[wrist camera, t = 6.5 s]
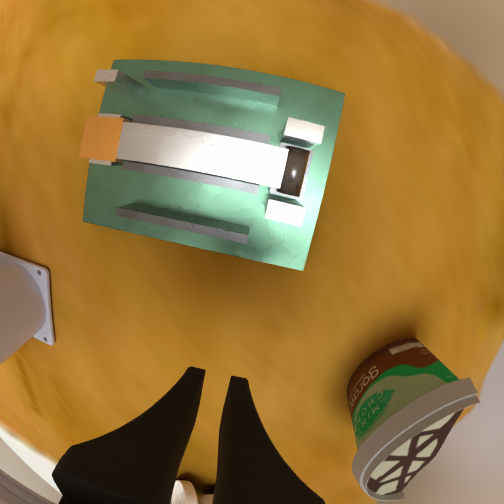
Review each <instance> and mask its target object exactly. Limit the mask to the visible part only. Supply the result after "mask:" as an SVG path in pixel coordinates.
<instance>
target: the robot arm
mask: <svg viewBox="0 0 504 504" xmlns="http://www.w3.org/2000/svg"><path fill="white" fill-rule="evenodd" d="M40 272H41V273H40ZM32 337H34V338H36V339H38V340H40V341H43V342H45V343H47V344H49V345H53V344H54V343H55V339H54V331H53V322H52V312H51V299H50V281H49V271H48V270H47V268H45V267H42V266H39V265H36V264H34V263H31V262H28V261H25V260H23V259H20V258H17V257H14V256H12V255H9V254H7V253H4V252H1V251H0V365H1V364H2V363H3V362H4V361H5V360H6V359H7V358H9V357H10V356H11V355H12V354H13V353H14V352H15V351H17V350H18V349H19V348H20V347H21V346H22V345H23V344H25V343H26V342H27V341H28V340H29V339H30V338H32ZM205 371H206V370H204V369H200V368H196V367H189V368H188V369H187V370H186V372H185V373H184V374H183V376H182V377H181V378H180V379H179V381H178V382H177V383H176V384H175V385H174V386H173V387H172V388H171V389H170V390H169V391H168V392H167V393H166V394H165V395H164V396H163V397H162V398H161V399H160V400H159V401H157V402H156V403H155V404H154V405H153V406H152V407H150V408H149V409H148V410H147V411H145V412H144V413H142V414H141V415H140V416H138V417H137V418H135V419H134V420H132V421H130V422H129V423H127V424H125V425H123V426H122V427H120V428H118V429H116V430H114V431H112V432H109V433H107V434H105V435H103V436H100V437H98V438H95V439H92V440H89V441H86V442H83V443H80V444H76V445H73V446H71V447H70V448H69V449H68V450H67V451H66V453H65V454H64V455H63V456H62V457H61V459H60V460H59V462H58V464H57V465H56V467H55V469H54V471H53V473H52V477H53V479H54V482H55V483H56V485H57V487H58V488H59V490H60V492H61V493H62V495H63V496H62V498H61V500H60V502H59V504H170V502H171V498H172V493H173V489H174V485H175V481H176V477H177V472H178V469H179V466H180V463H181V460H182V457H183V455H184V452H185V449H186V447H187V444H188V441H189V438H190V436H191V433H192V430H193V427H194V425H195V421H196V417H197V413H198V409H199V404H200V399H201V393H202V387H203V382H204V376H205ZM0 504H55V503H53V502H51V501H49V500H47V499H46V498H44V497H42V496H40V495H39V494H37V493H35V492H34V491H32V490H30V489H28V488H27V487H25V486H24V485H22V484H21V483H19V482H18V481H16V480H15V479H13V478H12V477H10V476H9V475H7V474H6V473H5V472H3V471H2V470H1V469H0ZM212 504H325V502H324V500H323V499H322V498H321V497H319V496H318V495H317V494H316V493H315V492H313V491H312V490H311V489H310V488H309V487H308V486H307V485H306V484H305V483H304V482H303V481H302V480H301V479H300V478H299V477H298V476H297V475H296V474H295V473H294V472H293V470H292V469H291V468H290V467H289V466H288V465H287V463H286V462H285V461H284V460H283V458H282V457H281V455H280V454H279V453H278V451H277V450H276V448H275V446H274V445H273V443H272V442H271V440H270V438H269V436H268V434H267V433H266V431H265V429H264V427H263V425H262V422H261V420H260V418H259V415H258V413H257V410H256V408H255V405H254V402H253V399H252V396H251V392H250V388H249V383H248V380H247V379H246V378H241V377H236V376H231V379H230V383H229V387H228V391H227V395H226V399H225V403H224V407H223V412H222V418H221V423H220V429H219V445H218V464H217V477H216V484H215V490H214V496H213V502H212Z"/></svg>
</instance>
